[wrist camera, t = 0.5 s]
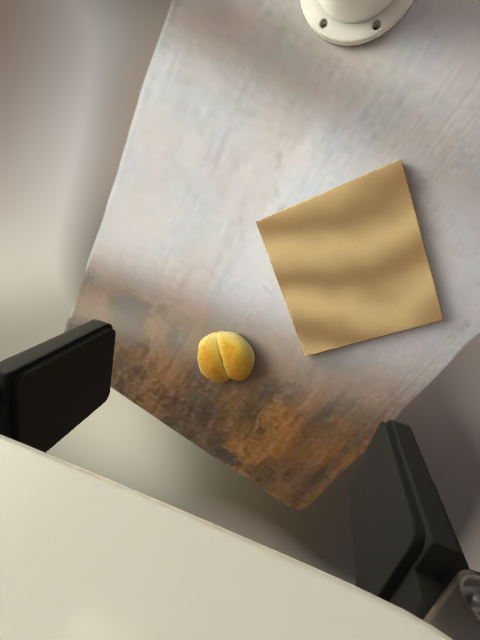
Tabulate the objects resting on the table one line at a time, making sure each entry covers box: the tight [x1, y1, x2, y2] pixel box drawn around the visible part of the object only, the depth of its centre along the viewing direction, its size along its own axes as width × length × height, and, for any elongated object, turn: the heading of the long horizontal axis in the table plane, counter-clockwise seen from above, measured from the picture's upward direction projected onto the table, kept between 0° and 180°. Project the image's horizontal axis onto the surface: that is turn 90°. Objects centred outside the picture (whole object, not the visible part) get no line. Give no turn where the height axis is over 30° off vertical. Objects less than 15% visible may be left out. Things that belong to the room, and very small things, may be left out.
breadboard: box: [256, 160, 444, 356], centre depth 41 cm, size 20×18×2 cm
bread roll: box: [197, 331, 255, 383], centre depth 48 cm, size 8×9×4 cm
